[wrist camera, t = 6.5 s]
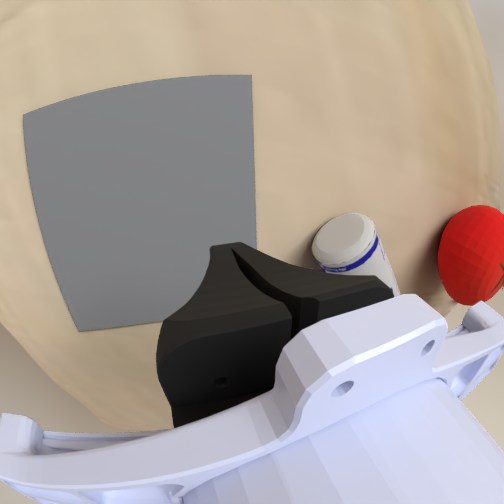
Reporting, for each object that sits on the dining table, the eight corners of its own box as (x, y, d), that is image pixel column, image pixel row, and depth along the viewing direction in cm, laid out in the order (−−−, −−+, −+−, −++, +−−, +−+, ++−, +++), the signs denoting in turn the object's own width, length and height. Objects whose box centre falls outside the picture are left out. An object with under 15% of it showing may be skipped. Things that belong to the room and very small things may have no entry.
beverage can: (371, 252, 18) (406, 343, 25) (372, 202, 21) (408, 300, 29) (302, 265, 21) (360, 346, 29) (315, 217, 25) (365, 305, 32)
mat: (256, 301, 25) (257, 304, 25) (79, 328, 21) (78, 331, 21) (250, 75, 17) (251, 74, 16) (25, 114, 13) (22, 114, 12)
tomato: (476, 229, 33) (527, 259, 23) (432, 292, 35) (482, 333, 25) (463, 175, 27) (530, 203, 18) (411, 248, 29) (479, 296, 19)
